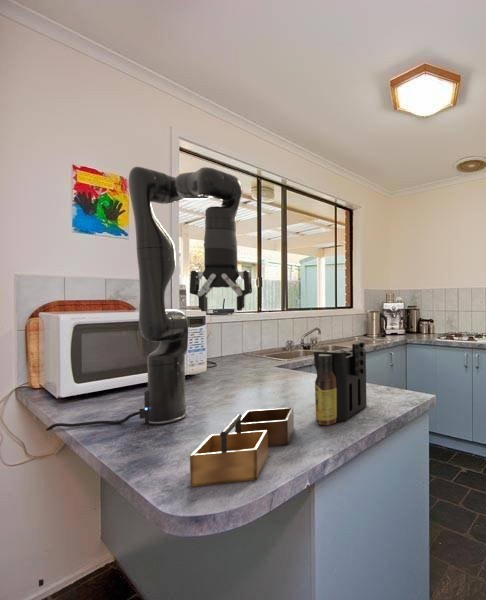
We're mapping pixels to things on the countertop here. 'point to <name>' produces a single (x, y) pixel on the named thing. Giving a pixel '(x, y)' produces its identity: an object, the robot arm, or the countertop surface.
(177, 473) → the countertop surface
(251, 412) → the bottom basket
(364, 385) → the black machined bracket
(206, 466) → the box
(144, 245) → the robot arm
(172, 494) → the countertop surface
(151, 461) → the countertop surface
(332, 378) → the sauce bottle
